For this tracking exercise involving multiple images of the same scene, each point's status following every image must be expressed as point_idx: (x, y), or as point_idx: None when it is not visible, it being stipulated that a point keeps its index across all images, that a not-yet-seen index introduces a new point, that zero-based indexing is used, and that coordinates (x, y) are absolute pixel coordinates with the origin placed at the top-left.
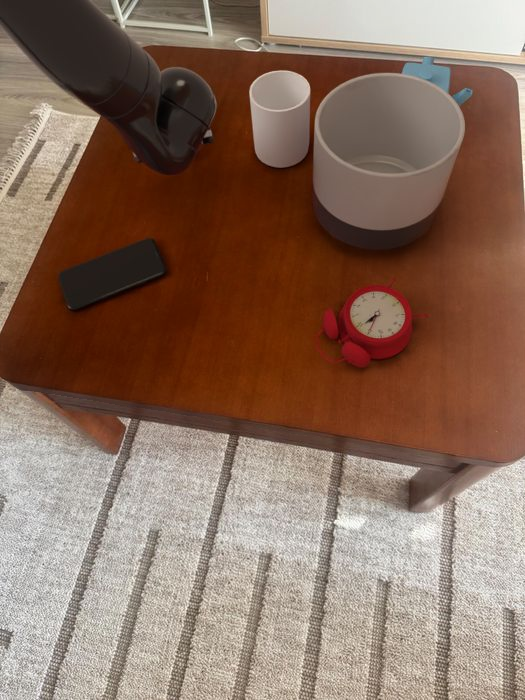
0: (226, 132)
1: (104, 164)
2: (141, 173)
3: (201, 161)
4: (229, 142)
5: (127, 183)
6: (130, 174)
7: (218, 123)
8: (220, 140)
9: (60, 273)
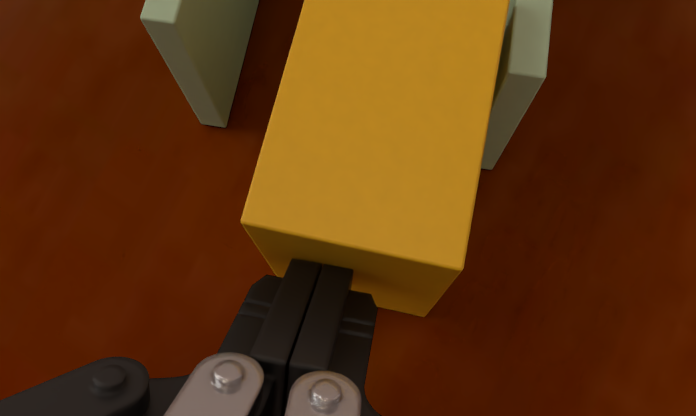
0: (676, 220)
1: (9, 100)
2: (134, 256)
3: (464, 352)
4: (668, 301)
5: (36, 284)
6: (82, 231)
7: (655, 137)
8: (624, 259)
9: None
